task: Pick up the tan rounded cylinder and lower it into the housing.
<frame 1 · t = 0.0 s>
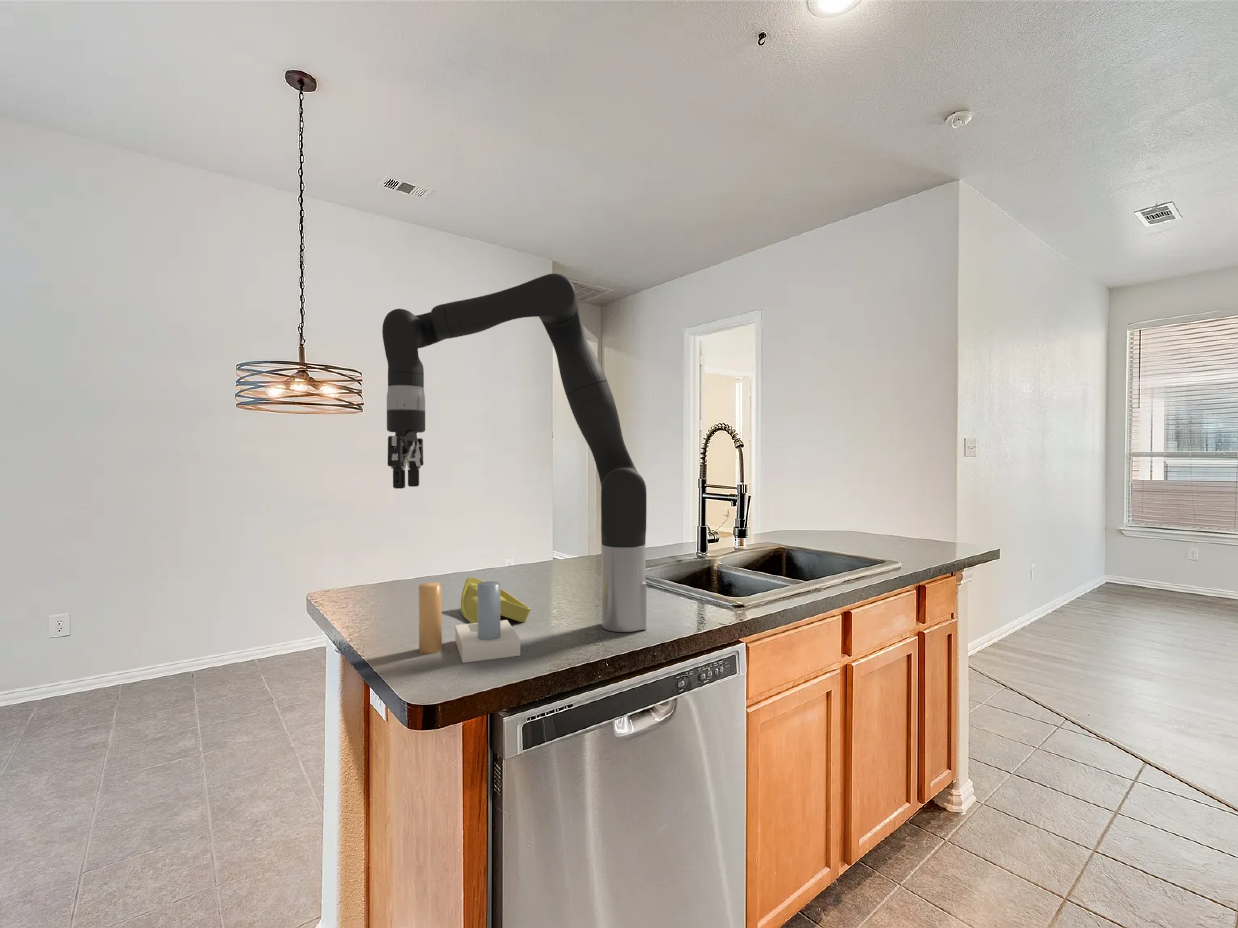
hand: (406, 487, 120), 29 cm above the worktop, tool pointing down, fingers open, 8 cm apart
tan rounded cylinder: (430, 649, 107), on the worktop
housing: (486, 647, 108), on the worktop
plastic component: (493, 617, 130), on the worktop
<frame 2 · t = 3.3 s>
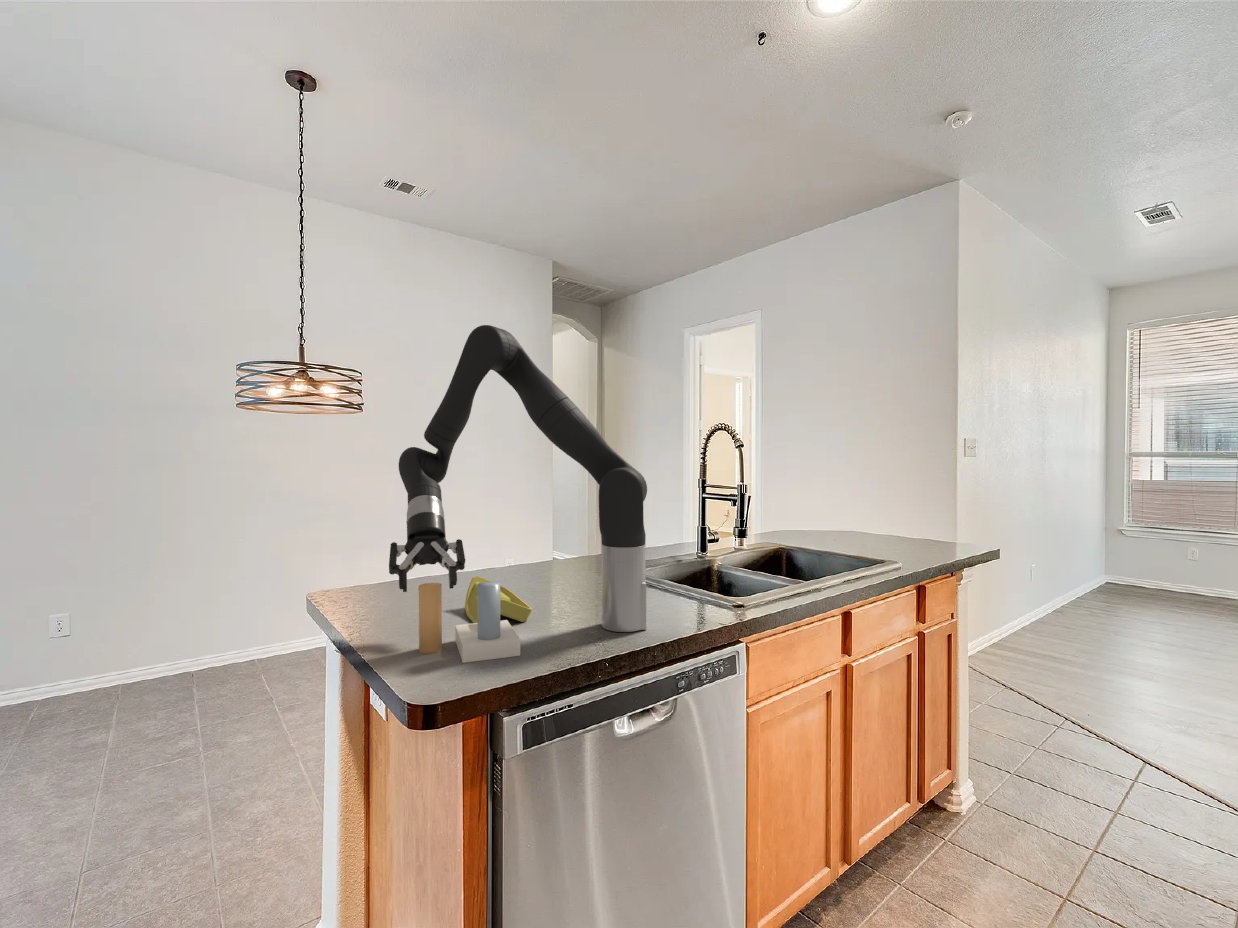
hand: (428, 587, 111), 10 cm above the worktop, tool tilted 45°, fingers open, 8 cm apart
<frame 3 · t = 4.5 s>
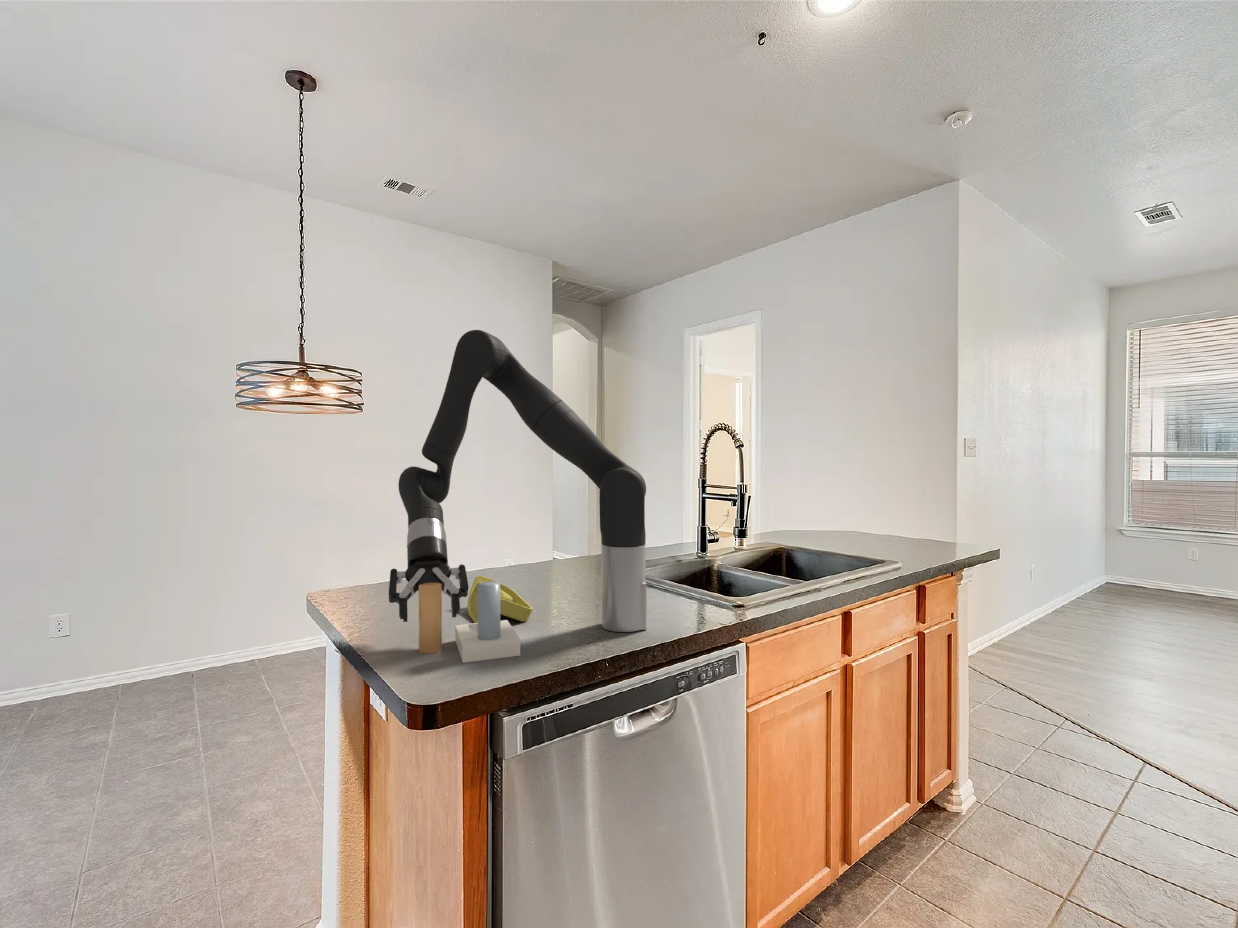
hand: (430, 617, 106), 6 cm above the worktop, tool tilted 45°, fingers open, 8 cm apart
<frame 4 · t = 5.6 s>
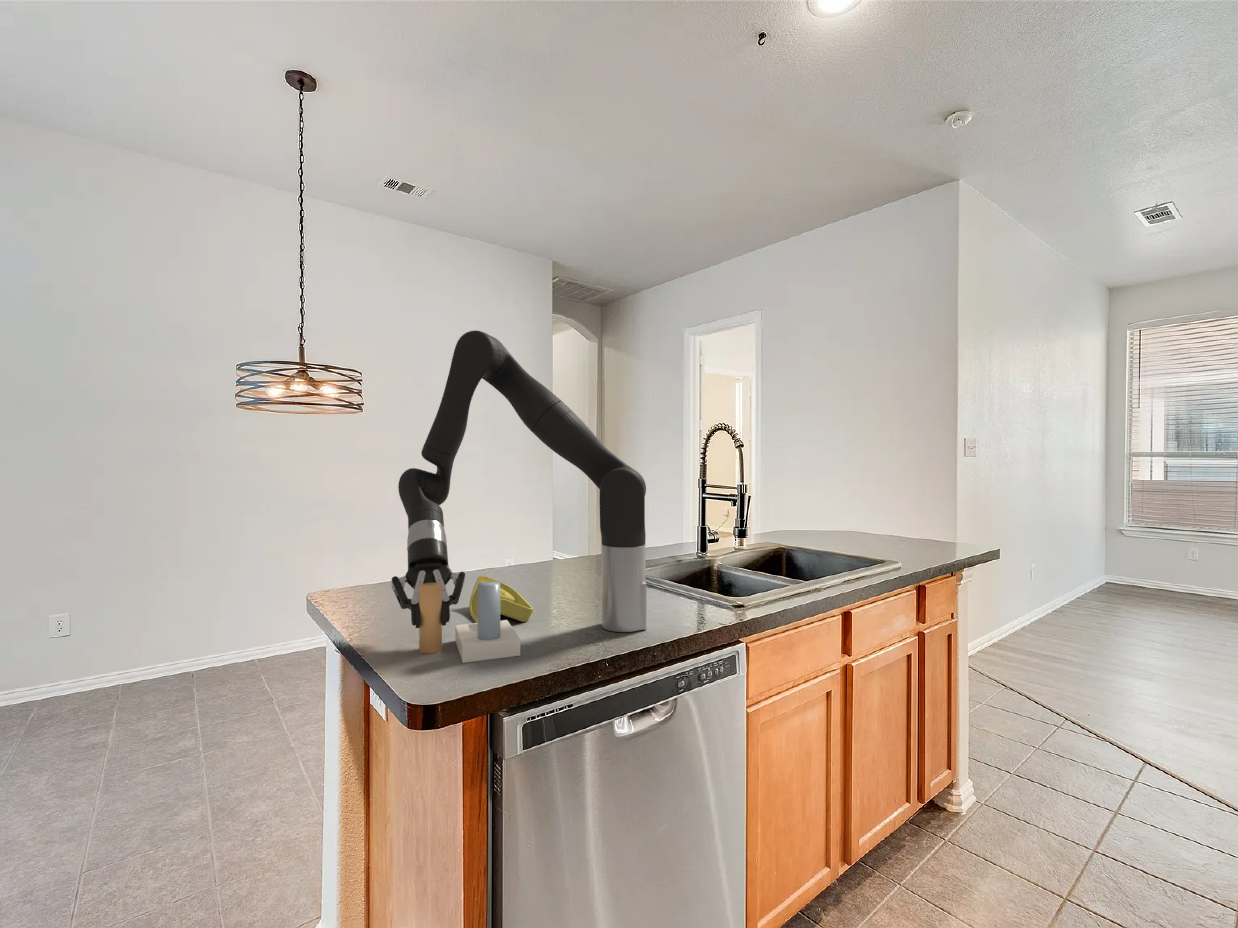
hand: (431, 624, 105), 5 cm above the worktop, tool tilted 45°, fingers closed on tan rounded cylinder, 4 cm apart
tan rounded cylinder: (430, 649, 107), on the worktop, touching gripper
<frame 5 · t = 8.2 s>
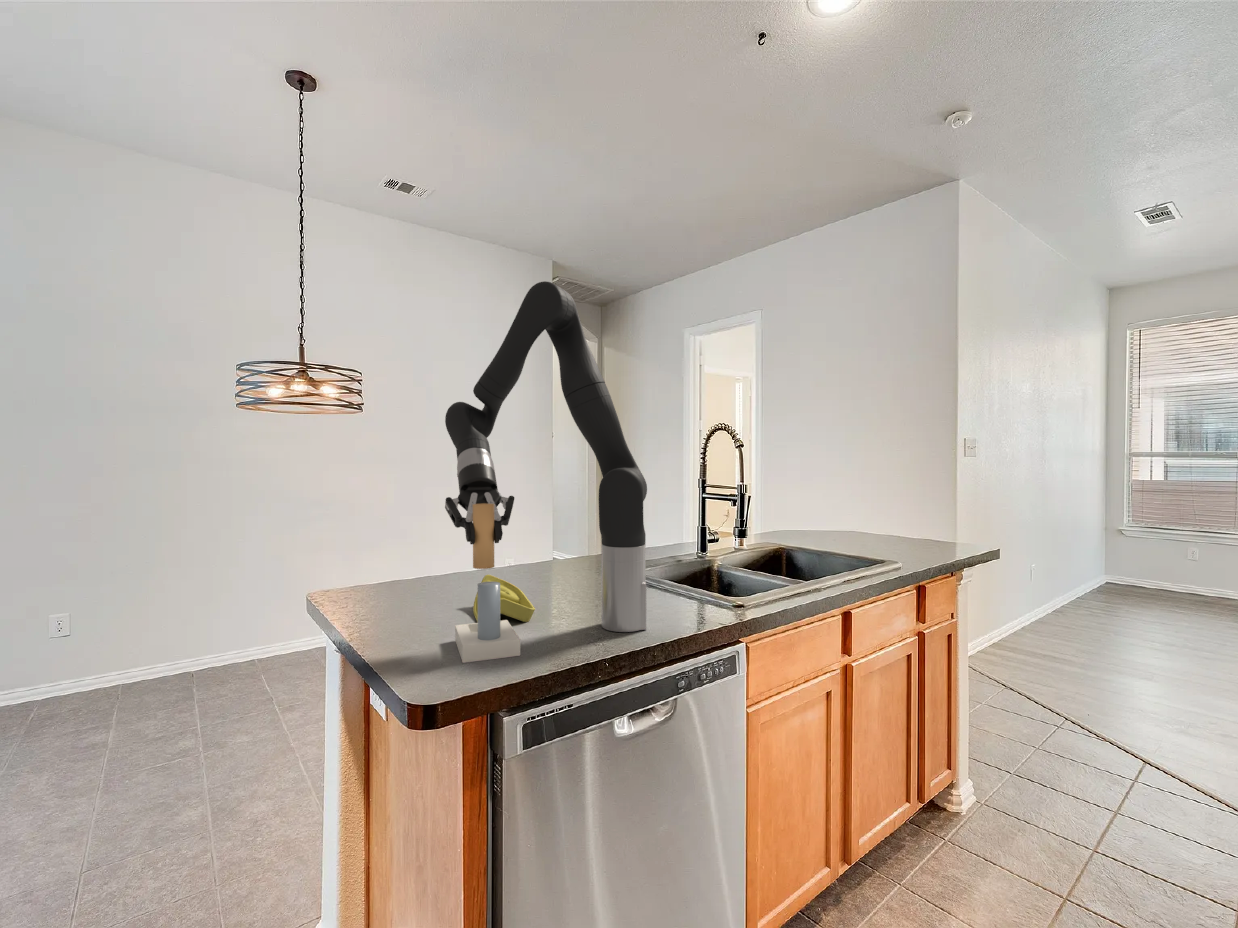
hand: (485, 540, 109), 20 cm above the worktop, tool tilted 45°, fingers closed on tan rounded cylinder, 4 cm apart
tan rounded cylinder: (483, 566, 111), point 15 cm above the worktop, touching gripper
when the fingers open (7 cm above the worktop, at t = 11.5 s): tan rounded cylinder stays where it is, resting on housing.
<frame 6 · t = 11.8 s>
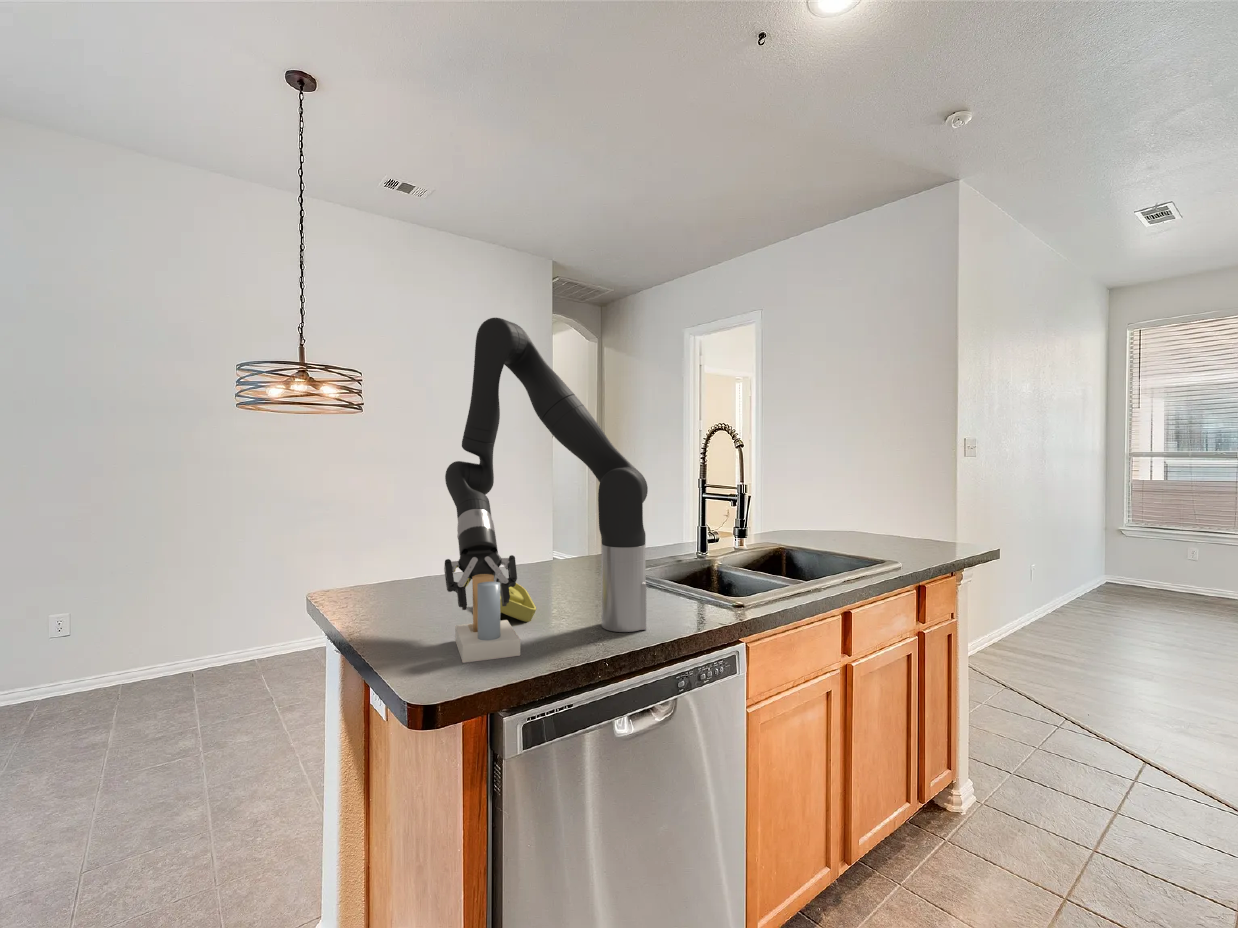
hand: (485, 605, 109), 7 cm above the worktop, tool tilted 45°, fingers open, 7 cm apart
tan rounded cylinder: (484, 638, 111), point 1 cm above the worktop, touching housing
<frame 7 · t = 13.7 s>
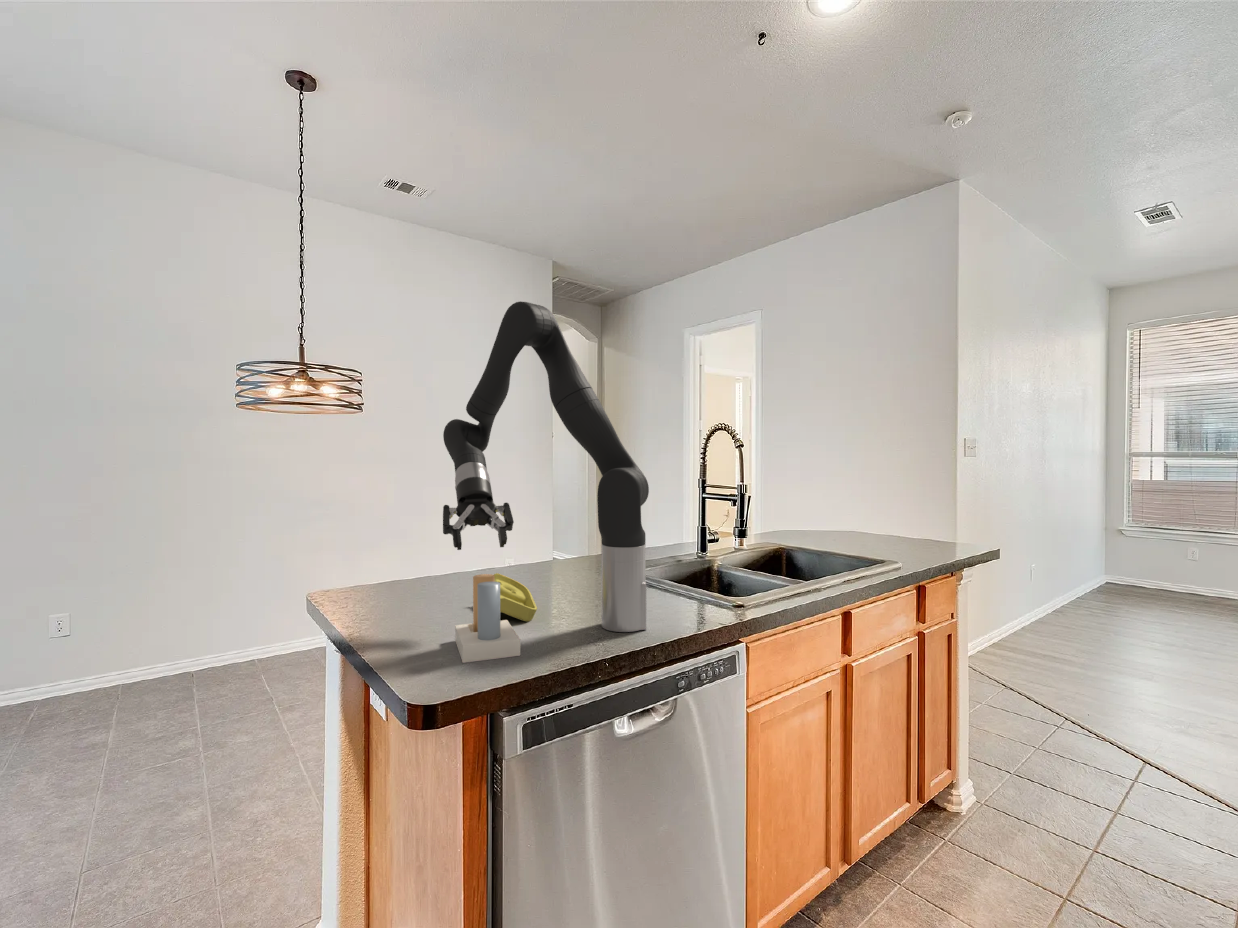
hand: (481, 546, 117), 17 cm above the worktop, tool tilted 45°, fingers open, 8 cm apart
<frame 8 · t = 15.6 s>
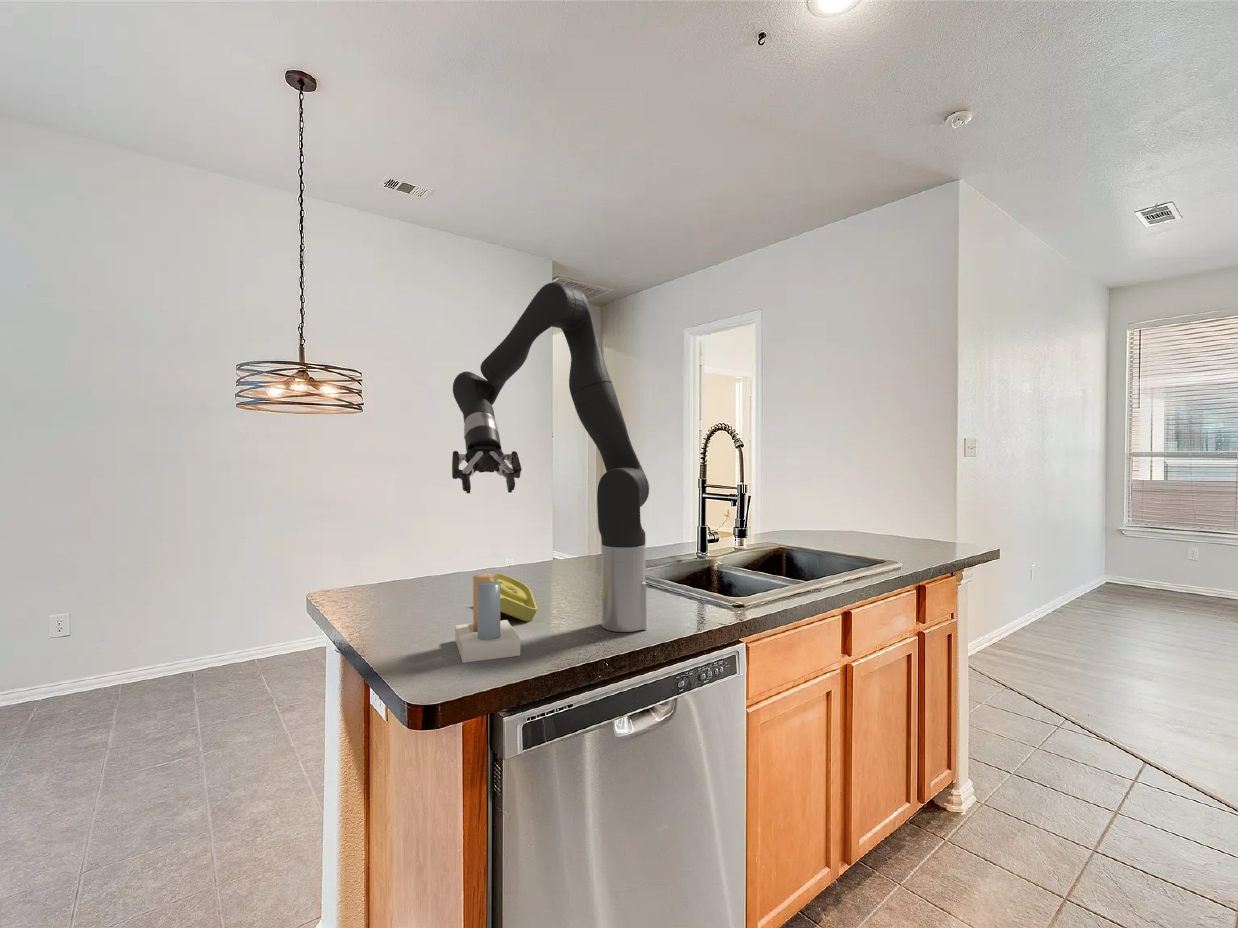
hand: (490, 490, 119), 29 cm above the worktop, tool tilted 45°, fingers open, 8 cm apart
at the end: tan rounded cylinder 0.1 cm from the target spot, point 0.7 cm above the worktop; tan rounded cylinder tilted 0° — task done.
